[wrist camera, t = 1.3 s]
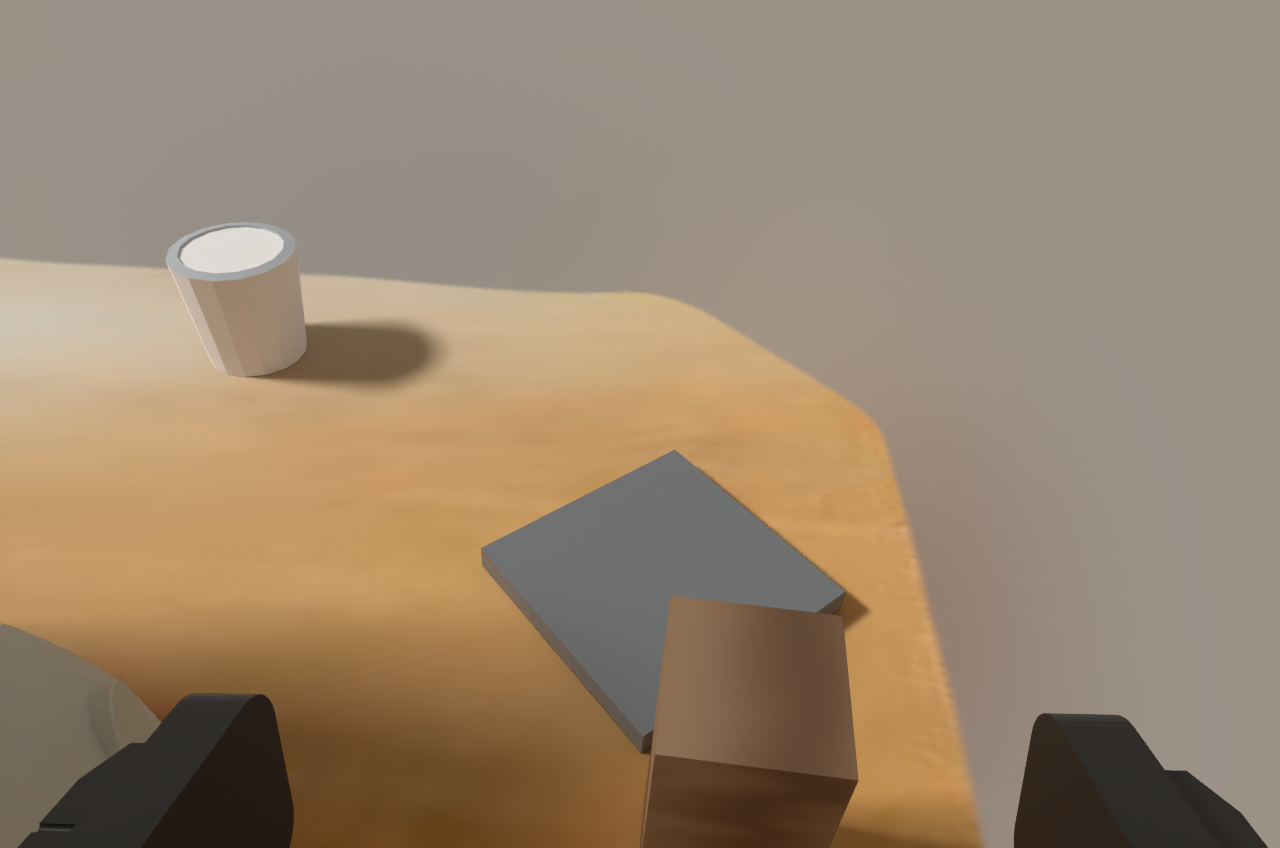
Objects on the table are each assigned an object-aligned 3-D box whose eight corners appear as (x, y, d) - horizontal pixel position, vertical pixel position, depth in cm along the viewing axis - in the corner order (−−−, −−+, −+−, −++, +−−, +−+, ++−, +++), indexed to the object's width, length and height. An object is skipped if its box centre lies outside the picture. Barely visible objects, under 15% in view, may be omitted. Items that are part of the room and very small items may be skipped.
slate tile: (482, 565, 41) (480, 548, 40) (673, 466, 47) (674, 449, 46) (641, 753, 34) (642, 736, 33) (840, 608, 40) (845, 591, 39)
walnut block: (630, 940, 29) (654, 754, 21) (644, 797, 33) (670, 595, 25) (779, 961, 29) (858, 780, 21) (776, 814, 33) (842, 615, 25)
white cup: (234, 398, 49) (202, 293, 45) (177, 348, 53) (142, 245, 48) (339, 351, 53) (319, 250, 49) (280, 307, 57) (256, 209, 52)
